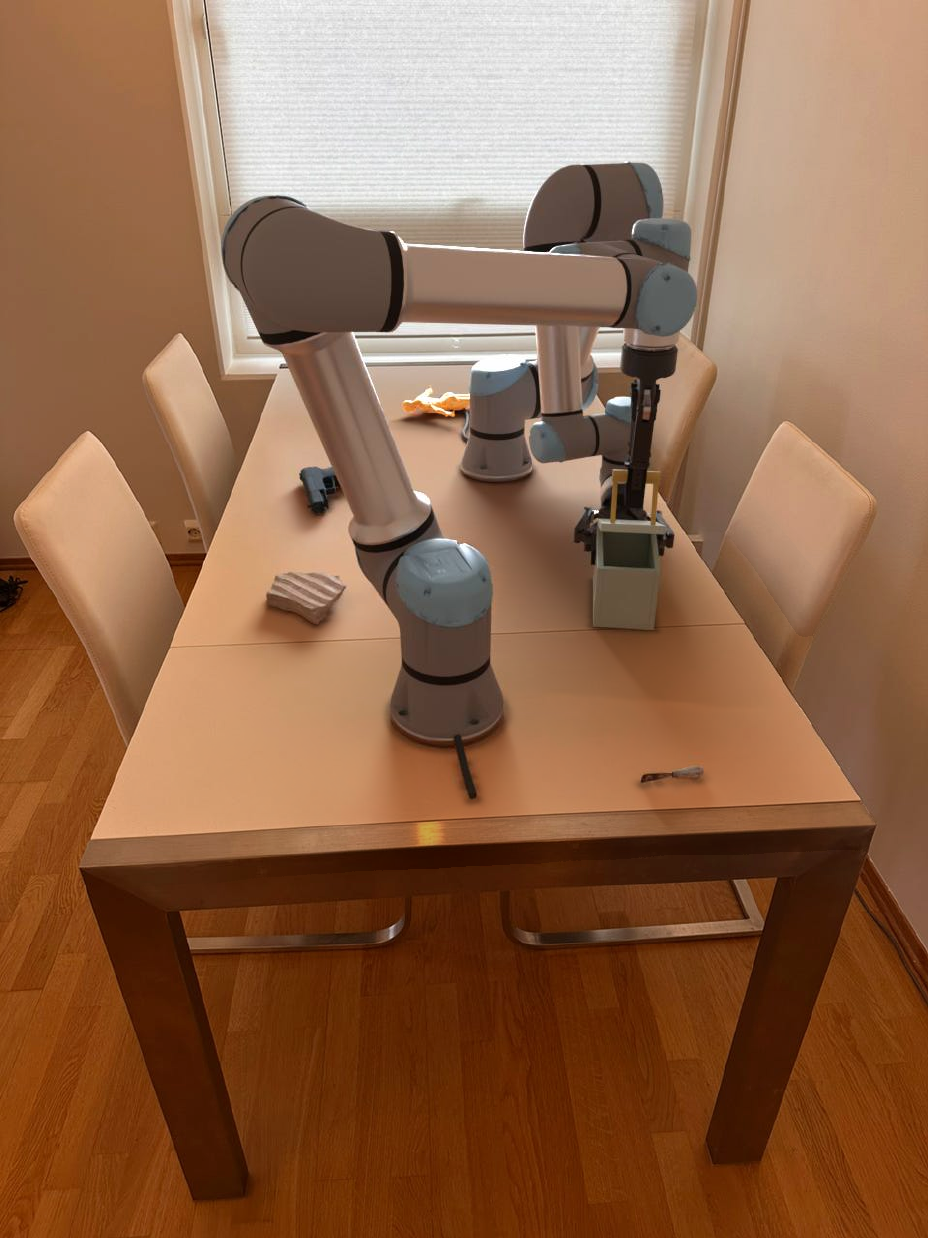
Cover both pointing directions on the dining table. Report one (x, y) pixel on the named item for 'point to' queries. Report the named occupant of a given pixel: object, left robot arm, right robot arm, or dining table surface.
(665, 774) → the putty knife
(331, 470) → the handgun
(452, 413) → the human figure
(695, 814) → the dining table surface
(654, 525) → the lid
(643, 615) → the chest
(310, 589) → the stone
